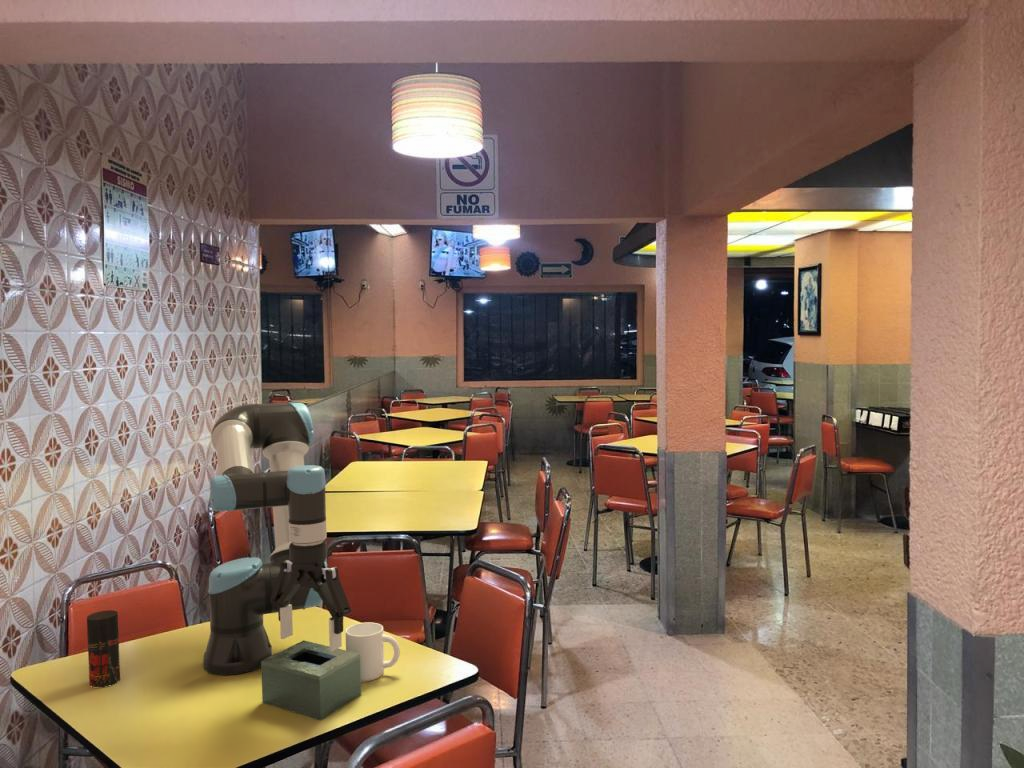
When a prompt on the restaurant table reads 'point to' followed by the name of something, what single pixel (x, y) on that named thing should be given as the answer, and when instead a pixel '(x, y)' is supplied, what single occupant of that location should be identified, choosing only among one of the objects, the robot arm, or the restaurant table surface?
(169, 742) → the restaurant table surface
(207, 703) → the restaurant table surface
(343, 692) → the coin box
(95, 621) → the deodorant
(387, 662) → the mug
